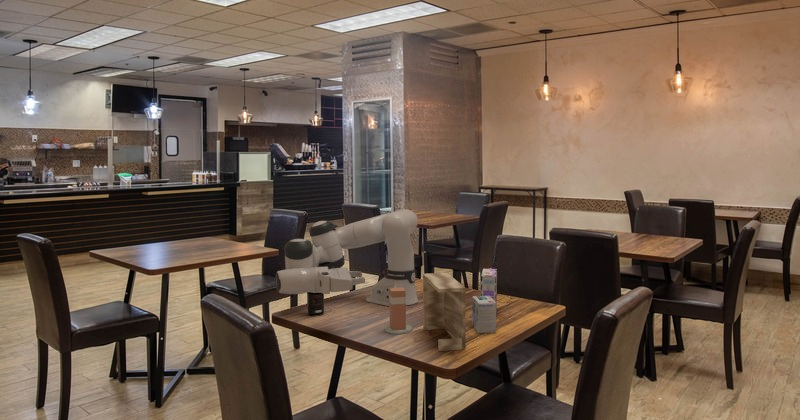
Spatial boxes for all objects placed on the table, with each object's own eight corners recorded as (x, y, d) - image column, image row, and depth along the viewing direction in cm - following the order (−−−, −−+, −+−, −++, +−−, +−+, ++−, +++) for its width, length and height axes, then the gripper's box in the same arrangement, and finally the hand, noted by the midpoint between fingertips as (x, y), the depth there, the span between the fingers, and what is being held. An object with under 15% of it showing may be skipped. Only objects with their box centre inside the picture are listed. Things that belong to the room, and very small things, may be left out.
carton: (392, 330, 201) (391, 291, 199) (389, 326, 206) (389, 288, 204) (406, 329, 202) (405, 290, 200) (403, 325, 207) (403, 287, 205)
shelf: (439, 351, 181) (438, 289, 179) (423, 329, 204) (422, 273, 202) (465, 349, 183) (465, 287, 181) (446, 327, 206) (446, 272, 204)
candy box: (495, 318, 217) (496, 275, 215) (480, 317, 218) (480, 275, 217) (497, 308, 231) (497, 268, 229) (482, 307, 232) (482, 267, 230)
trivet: (378, 331, 202) (378, 329, 202) (392, 324, 211) (392, 322, 211) (403, 335, 197) (403, 333, 197) (416, 327, 206) (416, 325, 206)
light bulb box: (471, 324, 210) (471, 295, 208) (489, 323, 210) (489, 295, 209) (478, 333, 199) (478, 303, 198) (496, 332, 199) (497, 302, 198)
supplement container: (320, 310, 230) (319, 285, 229) (327, 314, 225) (326, 288, 224) (304, 313, 227) (303, 287, 225) (311, 317, 221) (311, 290, 220)
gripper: (322, 281, 207) (360, 279, 209) (325, 295, 187) (366, 293, 189) (321, 264, 206) (359, 262, 209) (324, 276, 186) (366, 274, 189)
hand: (363, 277), depth 199 cm, fingers open, 8 cm apart
